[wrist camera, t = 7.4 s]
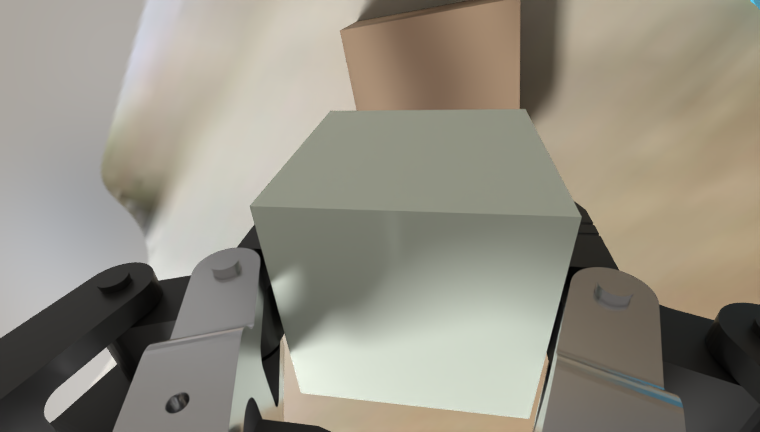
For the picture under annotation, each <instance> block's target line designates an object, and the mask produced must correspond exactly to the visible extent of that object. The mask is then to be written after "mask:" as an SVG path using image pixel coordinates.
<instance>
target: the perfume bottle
mask: <svg viewBox="0 0 760 432" xmlns="http://www.w3.org/2000/svg"><path fill="white" fill-rule="evenodd" d="M750 1H751V2H752V3H753V4H755V5H756V6H757V7H758V8H759V9H760V0H750Z"/></svg>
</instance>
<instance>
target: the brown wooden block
mask: <svg viewBox="0 0 760 432" xmlns="http://www.w3.org/2000/svg"><path fill="white" fill-rule="evenodd" d="M340 33H341V38H342V43H343V47H344V52H345V57H346V62H347V66H348V71H349V76H350V81H351V85H352V90H353V95H354V100H355V104H356V109H357V111H374V110H480V109H520V0H469V1H464V2H458V3H453V4H448V5H442V6H437V7H432V8H427V9H421V10H416V11H411V12H405V13H400V14H395V15H389V16H384V17H379V18H373V19H368V20H363V21H358V22H355V23H353V24H351V25H350V26H348V27H346V28H344V29H342V30H340Z"/></svg>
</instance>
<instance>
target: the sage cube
mask: <svg viewBox="0 0 760 432" xmlns="http://www.w3.org/2000/svg"><path fill="white" fill-rule="evenodd" d="M250 209H251V213H252V216H253V220H254V224H255V227H256V231H257V234H258V238H259V242H260V245H261V249H262V253H263V256H264V260H265V264H266V267H267V271H268V275H269V278H270V282H271V285H272V289H273V293H274V296H275V300H276V304H277V307H278V311H279V315H280V318H281V322H282V326H283V329H284V333H285V336H286V340H287V344H288V347H289V351H290V355H291V358H292V362H293V366H294V369H295V373H296V377H297V380H298V384H299V387H300V391H301V393H305V394H314V395H323V396H332V397H341V398H350V399H358V400H367V401H376V402H385V403H394V404H402V405H411V406H420V407H429V408H438V409H447V410H455V411H464V412H473V413H482V414H491V415H499V416H508V417H517V418H526V419H529V417H530V414H531V410H532V406H533V402H534V398H535V394H536V390H537V387H538V383H539V379H540V375H541V371H542V367H543V364H544V360H545V356H546V352H547V348H548V344H549V341H550V337H551V333H552V329H553V325H554V321H555V318H556V314H557V310H558V306H559V302H560V298H561V295H562V291H563V287H564V283H565V279H566V275H567V272H568V268H569V264H570V260H571V256H572V252H573V249H574V245H575V241H576V237H577V233H578V229H579V226H580V222H581V218H582V216H581V215H580V213H579V211H578V209H577V207H576V205H575V203H574V201H573V199H572V197H571V195H570V193H569V192H568V190H567V188H566V186H565V184H564V182H563V180H562V178H561V176H560V174H559V172H558V171H557V169H556V167H555V165H554V163H553V161H552V159H551V157H550V155H549V153H548V151H547V150H546V148H545V146H544V144H543V142H542V140H541V138H540V136H539V134H538V132H537V130H536V129H535V127H534V125H533V123H532V121H531V119H530V117H529V115H528V113H527V111H526V109H480V110H374V111H330V112H329V113H328V115H327V116H326V117H325V118H324V119H323V120H322V122H321V123H320V124H319V125H318V126H317V127H316V129H315V130H314V131H313V132H312V133H311V135H310V136H309V137H308V138H307V139H306V140H305V142H304V143H303V144H302V145H301V146H300V147H299V149H298V150H297V151H296V152H295V153H294V155H293V156H292V157H291V158H290V159H289V160H288V162H287V163H286V164H285V165H284V166H283V167H282V169H281V170H280V171H279V172H278V173H277V175H276V176H275V177H274V178H273V179H272V180H271V182H270V183H269V184H268V185H267V186H266V188H265V189H264V190H263V191H262V192H261V193H260V195H259V196H258V197H257V198H256V199H255V200H254V202H253V203H252V204H251V205H250Z"/></svg>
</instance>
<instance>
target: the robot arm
mask: <svg viewBox="0 0 760 432" xmlns="http://www.w3.org/2000/svg"><path fill="white" fill-rule="evenodd" d="M574 203H575V205H576V207H577V209H578V211H579V213H580V215H581V216H582V218H581V222H580V226H579V229H578V233H577V237H576V241H575V245H574V249H573V252H572V256H571V260H570V264H569V268H568V272H567V275H566V279H565V283H564V287H563V291H562V295H561V298H560V302H559V306H558V310H557V314H556V318H555V321H554V325H553V329H552V333H551V337H550V341H549V344H548V348H547V356H548V360H549V362H548V366H547V369H546V373H545V377H544V382H543V386H542V391H541V395H540V400H539V404H538V409H537V413H536V417H535V422H534V426H533V431H532V432H760V305H758V304H752V303H733V304H729V305H727V306H724V307H723V308H722V309H721V310H720V312H719V313H718V315H717V317H716V318H715V320H711V319H707V318H704V317H700V316H696V315H692V314H689V313H685V312H681V311H678V310H674V309H671V308H668V307H665V306H662V305H660V304H659V301H658V298H657V296H656V294H655V293H654V292H653V290H652V289H651V288H650V287H649V286H648V285H646V284H645V283H644V282H642V281H641V280H639V279H638V278H636V277H634V276H632V275H630V274H627V273H625V272H622V271H619V269H618V267H617V265H616V264H615V262H614V260H613V258H612V256H611V255H610V253H609V251H608V249H607V247H606V245H605V244H604V242H603V240H602V238H601V236H599V233H598V231H597V229H596V227H595V226H594V225H593V222H592V220H591V218H590V217H589V215H588V213H587V211H586V210H585V209H584V208H582V207H581V206H580V205H578V204H577V203H576V202H574ZM283 335H284V329H283V326H282V322H281V318H280V315H279V311H278V307H277V304H276V300H275V296H274V293H273V289H272V285H271V282H270V278H269V275H268V271H267V267H266V264H265V260H264V256H263V253H262V249H261V245H260V242H259V238H258V234H257V231H256V227H255V225H254V226H253V227H252V228H251V230H250V231H249V232H248V234H247V235H246V236H245V238H244V239H243V240H242V241H241V243H240V244H239V245H238V247H237V248H229V249H225V250H221V251H218V252H216V253H213V254H211V255H209V256H208V257H206V258H205V259H203V260H202V261H201V262H200V263H199V264H198V265H197V266H196V267H195V268H194V270H193V272H192V275H191V276H185V277H179V278H172V279H166V280H160V281H158V279H157V277H156V275H155V273H154V271H153V269H152V267H151V266H149V265H147V264H145V263H136V262H135V263H127V264H122V265H118V266H115V267H112V268H110V269H107V270H105V271H103V272H101V273H99V274H97V275H96V276H94V277H92V278H91V279H89V280H88V281H86V282H85V283H83V284H82V285H80V286H79V287H78V288H76V289H74V290H73V291H71V292H70V293H68V294H67V295H65V296H64V297H62V298H61V299H59V300H58V301H56V302H55V303H53V304H52V305H50V306H49V307H47V308H46V309H44V310H42V311H41V312H39V313H38V314H36V315H35V316H33V317H32V318H30V319H29V320H27V321H26V322H25V323H23V324H21V325H20V326H18V327H17V328H16V329H14V330H12V331H11V332H10V333H8V334H6V335H5V336H3V337H2V338H0V432H331V431H328V430H326V429H324V428H321V427H319V426H313V425H305V424H297V423H290V422H284V343H283V339H282V337H283ZM106 347H107V349H108V350H109V352H110V353H111V355H112V356H113V358H114V360H115V361H116V363H117V365H116V366H115V367H114V368H113V369H111V370H110V371H109V372H108V373H107V374H106V375H105V376H104V377H102V378H101V379H100V380H99V381H98V382H97V383H96V384H95V385H93V386H92V387H91V388H90V389H89V390H88V391H87V392H86V393H84V394H83V395H82V396H81V397H80V398H79V399H78V400H77V401H75V402H74V403H73V404H72V405H71V406H70V407H69V408H68V409H67V410H65V411H64V412H63V413H62V414H61V415H60V416H59V417H57V418H56V419H55V420H54V421H52V422H51V423H49V422H48V421H47V420H46V418H45V416H44V407H45V404H46V402H47V400H48V398H49V397H50V395H51V394H52V393H53V392H54V391H55V390H56V389H57V388H58V387H59V386H60V385H61V384H63V383H64V382H65V381H66V380H67V379H68V378H70V377H71V376H72V375H73V374H75V373H76V372H77V371H78V370H79V369H81V368H82V367H83V366H84V365H86V364H87V363H88V362H89V361H90V360H92V358H94V357H95V356H96V355H97V354H99V353H100V352H101V351H102V350H103V349H105V348H106Z"/></svg>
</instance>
